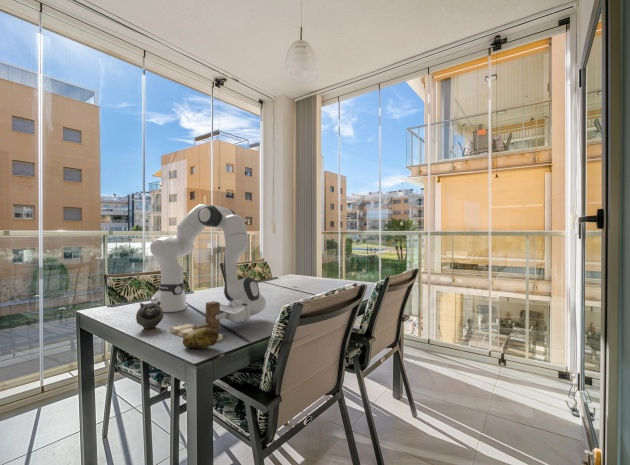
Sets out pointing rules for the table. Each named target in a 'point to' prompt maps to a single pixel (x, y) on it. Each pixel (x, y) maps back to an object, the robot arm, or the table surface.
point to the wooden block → (210, 316)
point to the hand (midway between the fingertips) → (210, 316)
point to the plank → (187, 330)
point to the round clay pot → (149, 316)
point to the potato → (201, 338)
